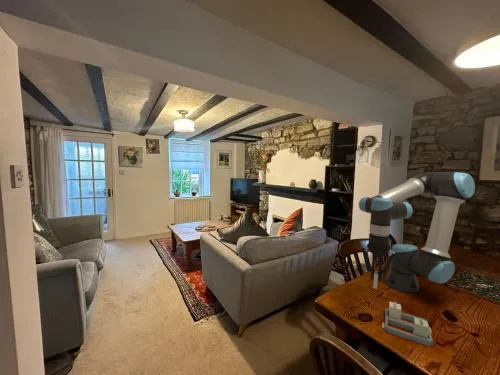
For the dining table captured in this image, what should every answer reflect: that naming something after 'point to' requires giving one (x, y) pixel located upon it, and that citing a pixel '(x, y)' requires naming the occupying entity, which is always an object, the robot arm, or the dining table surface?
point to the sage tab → (420, 328)
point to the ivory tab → (395, 310)
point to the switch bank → (406, 326)
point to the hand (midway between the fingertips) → (375, 286)
